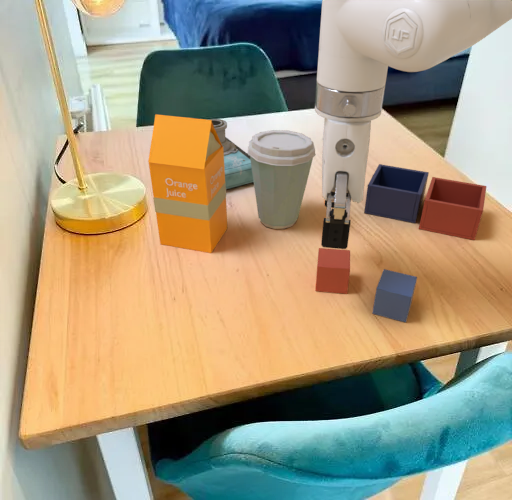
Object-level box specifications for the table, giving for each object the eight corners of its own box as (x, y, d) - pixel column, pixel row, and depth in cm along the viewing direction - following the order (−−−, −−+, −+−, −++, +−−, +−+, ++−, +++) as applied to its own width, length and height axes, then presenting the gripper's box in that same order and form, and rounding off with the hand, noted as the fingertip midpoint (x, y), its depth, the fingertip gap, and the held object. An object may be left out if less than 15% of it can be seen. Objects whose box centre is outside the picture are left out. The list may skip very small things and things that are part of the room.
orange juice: (179, 219, 87) (166, 105, 75) (228, 227, 84) (222, 110, 73) (159, 244, 80) (141, 124, 69) (211, 254, 78) (201, 131, 67)
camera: (259, 136, 92) (209, 147, 88) (259, 183, 97) (212, 196, 93) (220, 109, 103) (174, 118, 100) (222, 152, 109) (179, 162, 105)
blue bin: (423, 199, 91) (428, 172, 88) (415, 223, 85) (421, 194, 82) (375, 190, 94) (379, 163, 91) (364, 213, 88) (367, 185, 85)
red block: (347, 274, 74) (350, 250, 71) (347, 294, 70) (350, 268, 68) (317, 272, 74) (318, 247, 72) (315, 291, 71) (317, 266, 68)
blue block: (411, 302, 69) (417, 276, 66) (406, 322, 65) (411, 296, 63) (379, 293, 70) (383, 268, 68) (372, 313, 67) (376, 288, 64)
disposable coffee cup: (257, 201, 92) (256, 121, 83) (316, 208, 89) (321, 126, 81) (241, 232, 83) (238, 147, 74) (305, 241, 81) (310, 154, 72)
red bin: (478, 214, 87) (486, 185, 84) (474, 240, 81) (483, 210, 77) (426, 204, 90) (432, 176, 87) (418, 229, 83) (424, 199, 80)
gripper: (387, 129, 49) (365, 268, 59) (379, 76, 63) (362, 195, 73) (310, 125, 50) (301, 262, 60) (319, 73, 64) (310, 192, 74)
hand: (335, 225), depth 67 cm, fingers open, 9 cm apart
